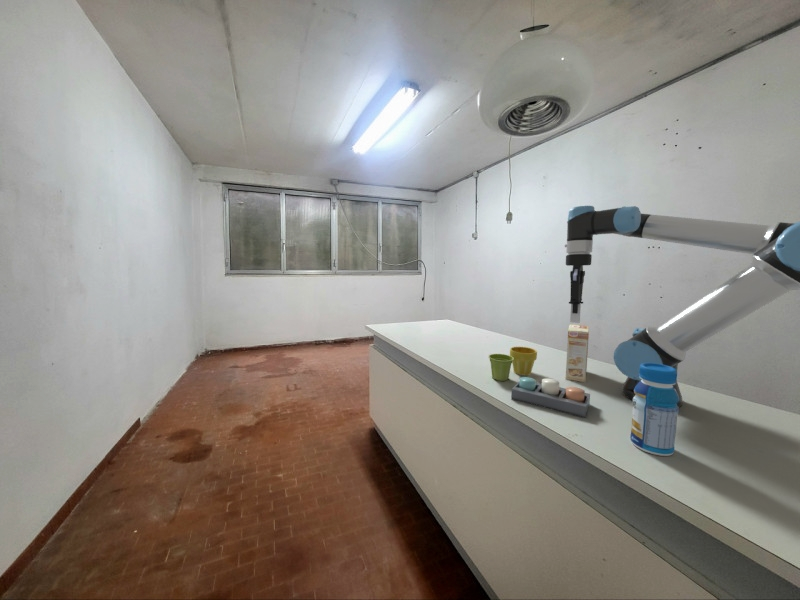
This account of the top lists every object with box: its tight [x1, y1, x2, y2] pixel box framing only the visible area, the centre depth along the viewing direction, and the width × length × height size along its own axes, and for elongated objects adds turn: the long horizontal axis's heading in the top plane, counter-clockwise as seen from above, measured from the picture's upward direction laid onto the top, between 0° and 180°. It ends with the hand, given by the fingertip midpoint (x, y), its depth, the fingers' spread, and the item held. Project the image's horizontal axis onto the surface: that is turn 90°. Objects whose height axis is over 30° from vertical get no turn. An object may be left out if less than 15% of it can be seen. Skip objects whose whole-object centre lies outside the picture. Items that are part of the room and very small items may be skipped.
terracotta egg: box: [565, 386, 586, 403], centre depth 93 cm, size 5×5×4 cm
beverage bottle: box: [629, 363, 680, 457], centre depth 71 cm, size 8×8×20 cm
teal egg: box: [519, 376, 537, 391], centre depth 101 cm, size 5×5×4 cm
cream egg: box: [541, 378, 560, 397], centre depth 97 cm, size 5×5×4 cm
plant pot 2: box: [509, 346, 538, 376], centre depth 124 cm, size 10×10×10 cm
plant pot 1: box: [488, 353, 514, 382], centre depth 118 cm, size 9×9×9 cm
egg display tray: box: [510, 380, 591, 419], centre depth 97 cm, size 21×11×4 cm, turn 52°
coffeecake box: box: [564, 323, 590, 383], centre depth 120 cm, size 15×7×20 cm, turn 148°
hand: (574, 322), depth 104 cm, fingers closed
